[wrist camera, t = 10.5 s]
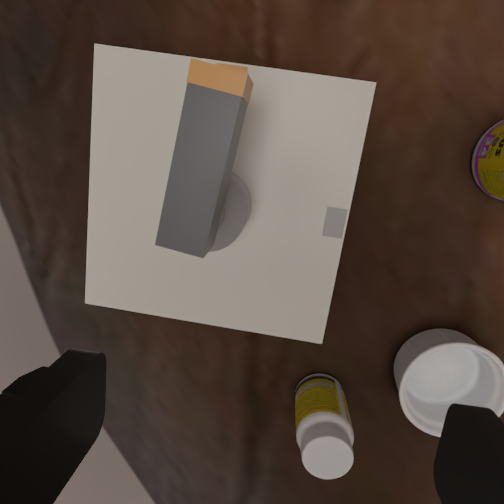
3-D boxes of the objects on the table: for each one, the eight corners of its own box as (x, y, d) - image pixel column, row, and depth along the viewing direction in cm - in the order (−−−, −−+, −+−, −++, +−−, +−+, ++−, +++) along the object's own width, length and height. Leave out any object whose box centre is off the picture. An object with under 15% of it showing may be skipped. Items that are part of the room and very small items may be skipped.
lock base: (320, 336, 37) (326, 370, 32) (92, 297, 38) (57, 323, 33) (372, 85, 32) (391, 71, 26) (102, 48, 33) (62, 26, 27)
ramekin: (411, 308, 36) (427, 328, 32) (504, 340, 36) (532, 365, 32) (372, 388, 38) (382, 418, 34) (459, 419, 38) (480, 452, 34)
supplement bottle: (284, 392, 39) (283, 456, 31) (319, 362, 38) (327, 420, 30) (319, 423, 40) (326, 494, 32) (354, 395, 39) (372, 460, 30)
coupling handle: (220, 238, 29) (203, 258, 24) (179, 226, 29) (153, 244, 24) (256, 89, 27) (247, 73, 21) (211, 76, 27) (191, 58, 21)
